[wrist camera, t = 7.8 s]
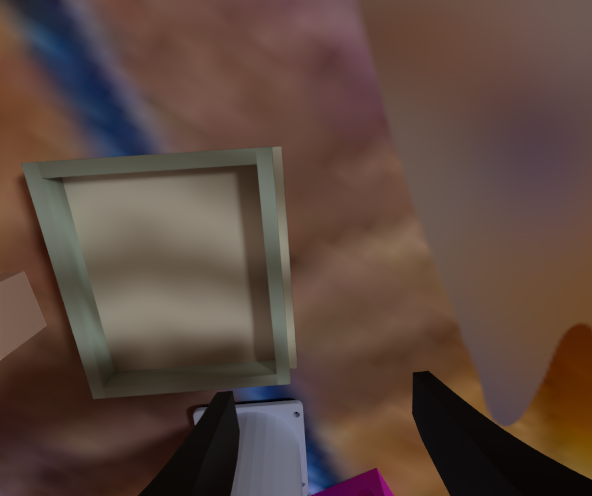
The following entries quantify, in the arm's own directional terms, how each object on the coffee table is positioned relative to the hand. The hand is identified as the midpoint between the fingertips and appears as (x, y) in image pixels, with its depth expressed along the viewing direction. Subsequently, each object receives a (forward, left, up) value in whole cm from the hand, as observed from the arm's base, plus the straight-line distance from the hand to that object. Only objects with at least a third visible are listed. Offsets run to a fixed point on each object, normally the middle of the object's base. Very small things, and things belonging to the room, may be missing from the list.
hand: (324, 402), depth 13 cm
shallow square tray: (+2, +8, -9) cm, 13 cm away
